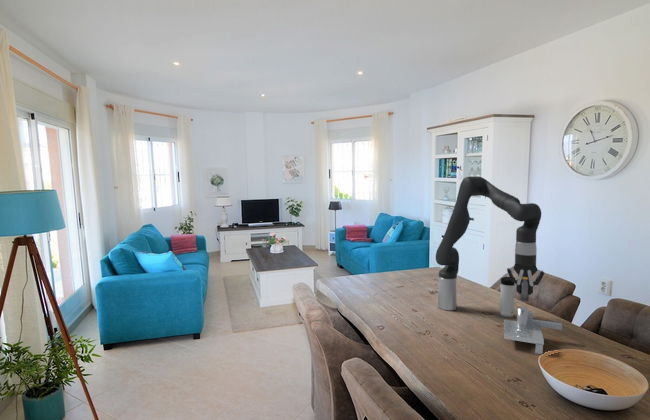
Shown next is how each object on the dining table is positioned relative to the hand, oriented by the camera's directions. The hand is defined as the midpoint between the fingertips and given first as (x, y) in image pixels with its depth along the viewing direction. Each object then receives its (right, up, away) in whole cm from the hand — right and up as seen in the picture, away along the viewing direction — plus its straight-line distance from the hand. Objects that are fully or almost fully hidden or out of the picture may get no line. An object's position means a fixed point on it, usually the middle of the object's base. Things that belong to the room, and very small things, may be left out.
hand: (524, 293), depth 144 cm
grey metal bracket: (+6, -23, +5) cm, 24 cm away
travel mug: (+11, -20, +35) cm, 42 cm away
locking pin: (0, -3, 0) cm, 3 cm away
